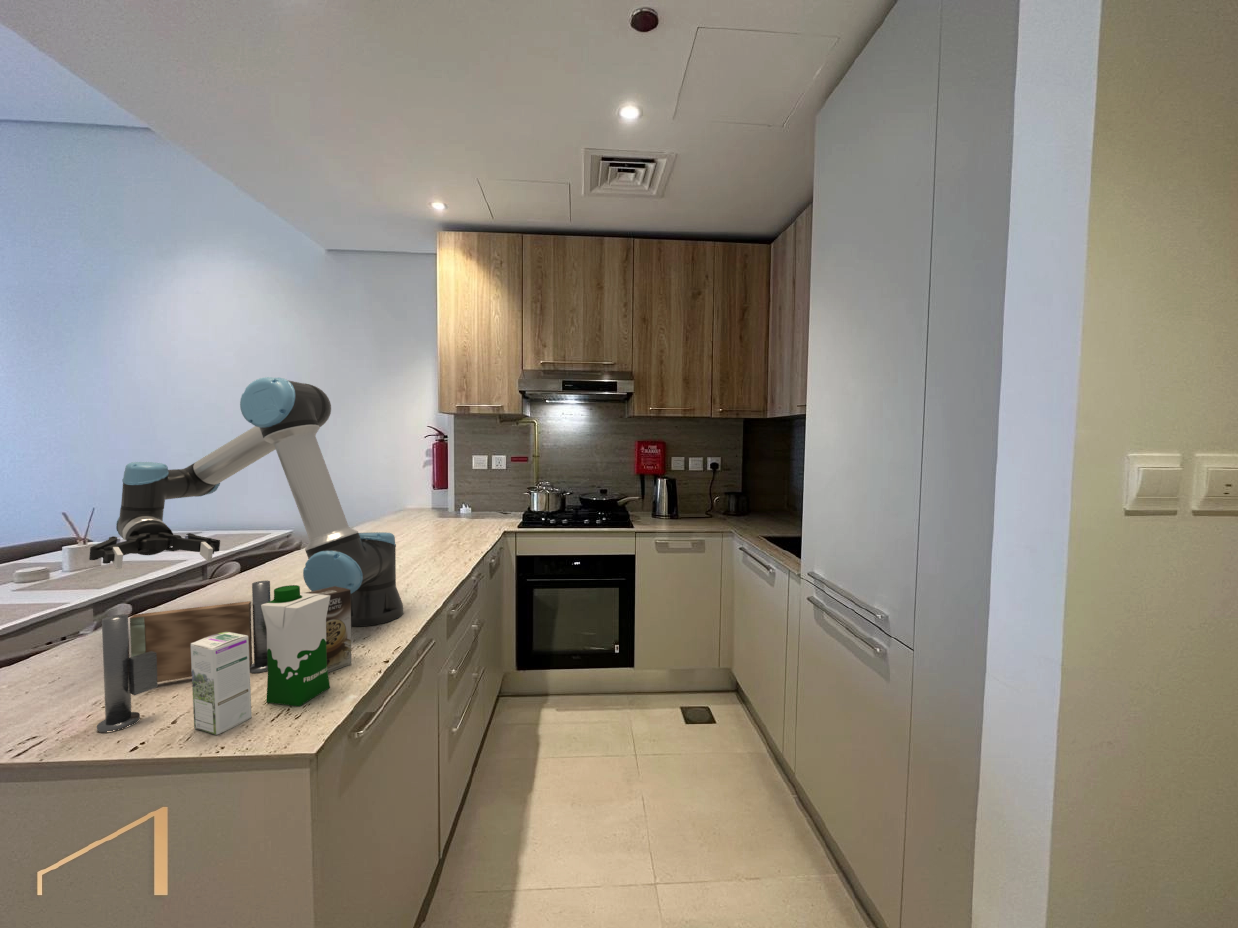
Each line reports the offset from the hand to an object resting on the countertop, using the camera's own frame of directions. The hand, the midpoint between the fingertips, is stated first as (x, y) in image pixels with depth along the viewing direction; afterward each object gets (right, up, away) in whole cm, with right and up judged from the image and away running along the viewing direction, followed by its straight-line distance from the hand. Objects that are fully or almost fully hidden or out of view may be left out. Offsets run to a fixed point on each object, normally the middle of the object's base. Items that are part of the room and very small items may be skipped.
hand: (167, 558), depth 98 cm
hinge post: (+17, -23, +3) cm, 29 cm away
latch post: (+8, -24, -18) cm, 31 cm away
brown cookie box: (+30, -24, +3) cm, 38 cm away
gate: (+8, -23, -2) cm, 24 cm away
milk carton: (+32, -24, -8) cm, 41 cm away
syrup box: (+26, -24, -17) cm, 39 cm away
